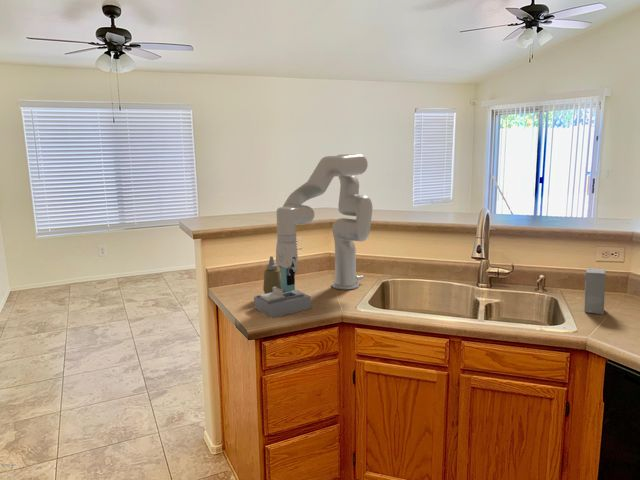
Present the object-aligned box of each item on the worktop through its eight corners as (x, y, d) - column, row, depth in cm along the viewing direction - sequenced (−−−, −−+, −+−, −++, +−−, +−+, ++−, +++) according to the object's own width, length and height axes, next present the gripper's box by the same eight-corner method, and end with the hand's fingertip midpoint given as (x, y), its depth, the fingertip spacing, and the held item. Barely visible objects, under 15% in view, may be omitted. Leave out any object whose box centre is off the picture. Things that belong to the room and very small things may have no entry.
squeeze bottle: (279, 300, 196) (277, 259, 193) (261, 299, 198) (259, 258, 194) (284, 294, 204) (283, 254, 201) (267, 293, 206) (265, 254, 202)
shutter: (275, 294, 188) (275, 286, 187) (284, 298, 182) (284, 290, 182) (260, 297, 184) (260, 289, 183) (268, 301, 178) (268, 293, 178)
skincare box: (603, 315, 173) (607, 274, 170) (581, 312, 177) (585, 271, 174) (604, 308, 180) (608, 269, 177) (582, 305, 184) (586, 267, 181)
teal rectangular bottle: (289, 287, 189) (288, 258, 187) (294, 289, 186) (294, 260, 184) (281, 289, 187) (280, 260, 185) (286, 291, 184) (285, 262, 182)
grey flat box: (292, 299, 197) (292, 286, 196) (310, 308, 186) (310, 294, 185) (254, 308, 187) (253, 294, 186) (271, 318, 176) (270, 303, 175)
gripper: (268, 236, 187) (269, 280, 191) (289, 242, 174) (290, 289, 177) (284, 234, 192) (285, 277, 195) (306, 240, 178) (307, 286, 182)
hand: (287, 282), depth 186 cm, fingers closed on teal rectangular bottle, 4 cm apart
